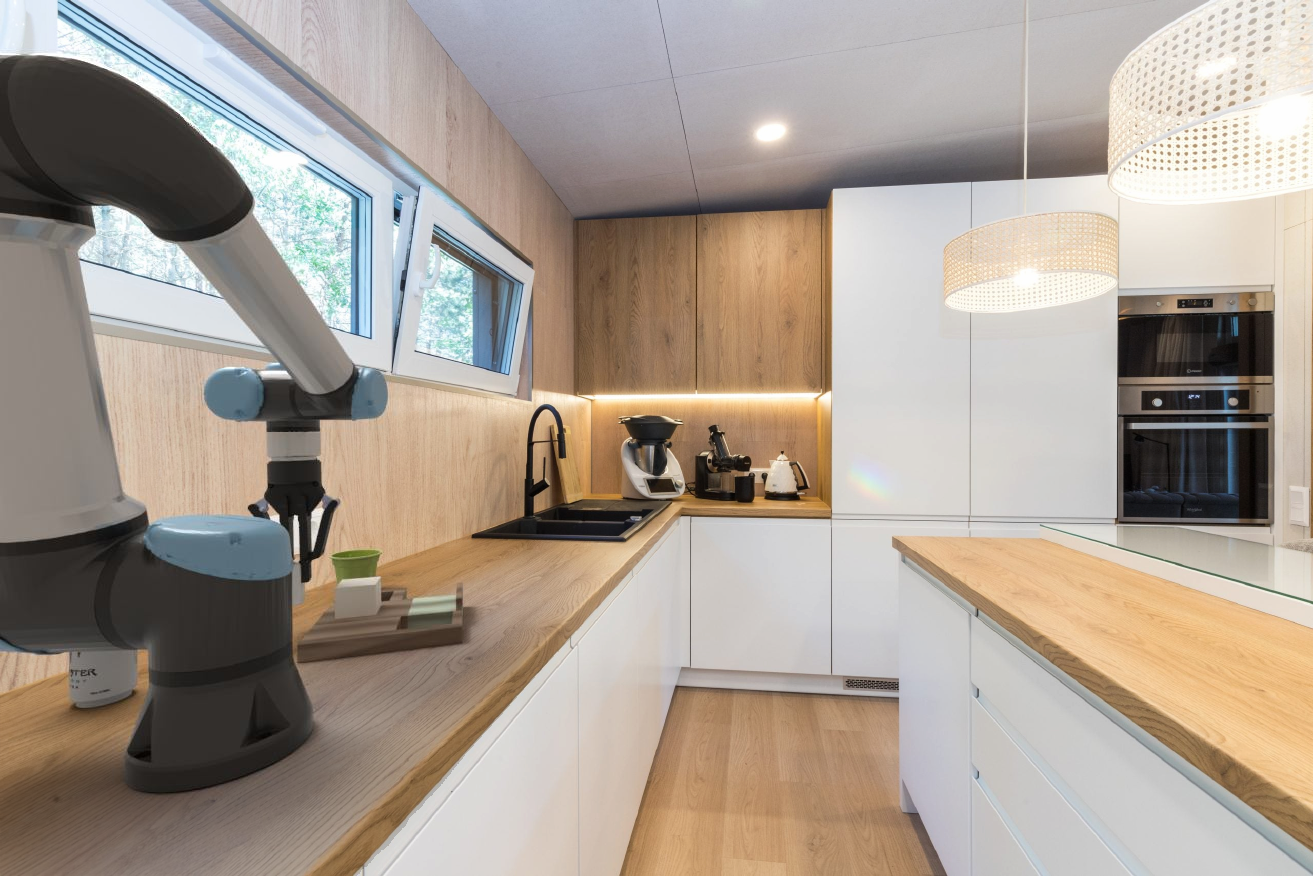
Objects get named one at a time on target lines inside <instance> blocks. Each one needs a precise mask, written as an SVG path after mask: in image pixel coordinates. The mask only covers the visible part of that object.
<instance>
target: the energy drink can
mask: <svg viewBox="0 0 1313 876" xmlns="http://www.w3.org/2000/svg"><path fill="white" fill-rule="evenodd" d="M138 664H139V663H138V650H120V651H91V652H68V686H69V688H68V695H69V696H68V697H69V701H71V702H73V703H75V706H76V707H77V708H81V709H89V708H96V707H97V708H98V707H102V706H106V705H110V704H113V703H116V702H119V701H122V700H124V699H126V698H128V697H129V696H131V695H132V694H133V689H134V688H136V687H137V686H138V683H139V682H138V681H139V679H138V677H139V673H138V672H139V671H138V670H139V669H138Z"/></svg>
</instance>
